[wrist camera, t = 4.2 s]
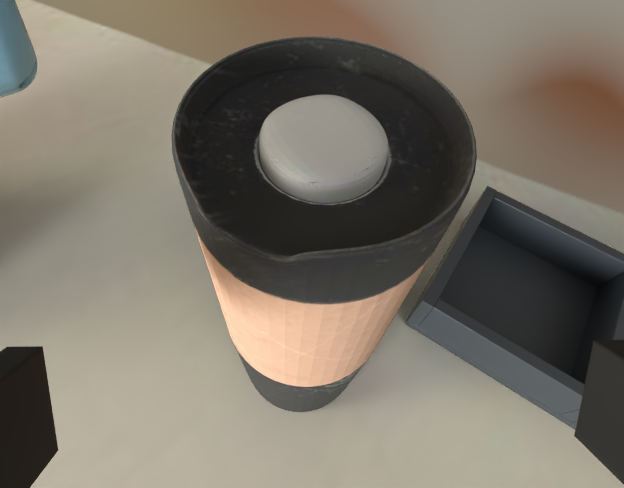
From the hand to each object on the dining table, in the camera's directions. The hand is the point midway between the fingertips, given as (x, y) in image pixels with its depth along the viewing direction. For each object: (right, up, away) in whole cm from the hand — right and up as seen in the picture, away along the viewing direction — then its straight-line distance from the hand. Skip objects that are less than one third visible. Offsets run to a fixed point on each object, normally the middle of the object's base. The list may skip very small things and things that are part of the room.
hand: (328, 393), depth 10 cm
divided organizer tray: (+19, -4, +18) cm, 27 cm away
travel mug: (-1, -4, +17) cm, 18 cm away
